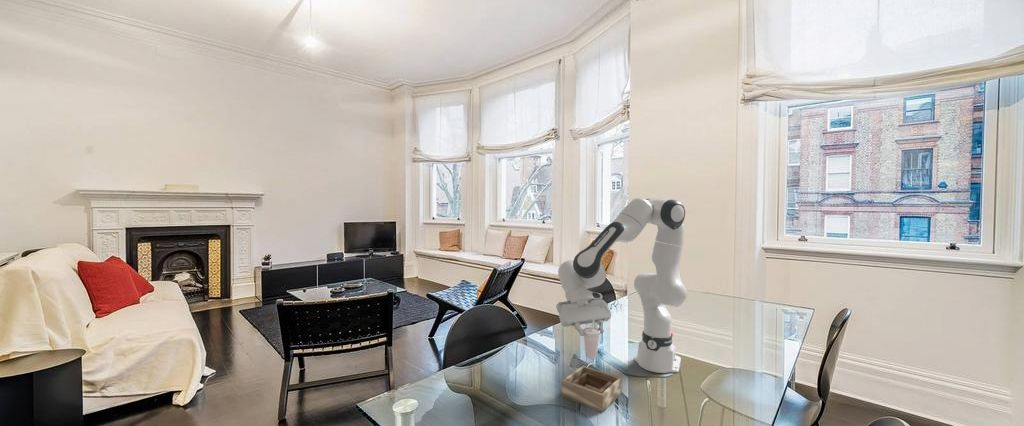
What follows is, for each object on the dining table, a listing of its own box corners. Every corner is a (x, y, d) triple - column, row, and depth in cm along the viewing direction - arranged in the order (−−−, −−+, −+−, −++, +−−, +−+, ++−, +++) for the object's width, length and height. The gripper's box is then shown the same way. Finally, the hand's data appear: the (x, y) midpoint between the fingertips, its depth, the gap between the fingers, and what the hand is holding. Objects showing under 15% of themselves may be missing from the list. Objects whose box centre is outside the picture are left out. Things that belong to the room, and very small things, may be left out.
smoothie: (600, 361, 142) (601, 322, 141) (581, 359, 144) (582, 321, 143) (599, 353, 149) (600, 316, 148) (582, 352, 150) (583, 315, 149)
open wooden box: (582, 380, 158) (583, 365, 157) (621, 393, 148) (622, 378, 147) (561, 396, 145) (562, 380, 144) (602, 412, 135) (603, 395, 135)
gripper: (557, 298, 147) (570, 333, 139) (605, 293, 155) (619, 326, 146) (552, 306, 152) (563, 341, 144) (598, 301, 159) (612, 334, 151)
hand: (592, 333), depth 145 cm, fingers closed on smoothie, 6 cm apart
